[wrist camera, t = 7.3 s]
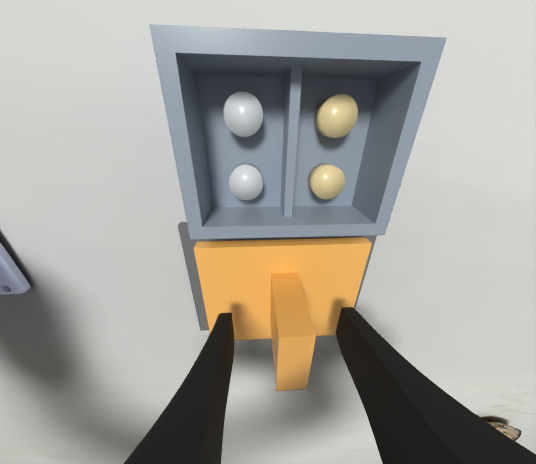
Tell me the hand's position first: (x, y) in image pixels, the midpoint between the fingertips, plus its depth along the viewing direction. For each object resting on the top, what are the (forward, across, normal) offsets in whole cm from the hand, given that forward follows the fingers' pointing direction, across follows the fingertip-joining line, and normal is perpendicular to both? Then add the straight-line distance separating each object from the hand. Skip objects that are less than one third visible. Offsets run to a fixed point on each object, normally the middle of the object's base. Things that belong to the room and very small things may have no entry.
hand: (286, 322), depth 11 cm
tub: (+4, 0, -8) cm, 9 cm away
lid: (+3, 0, 0) cm, 3 cm away
